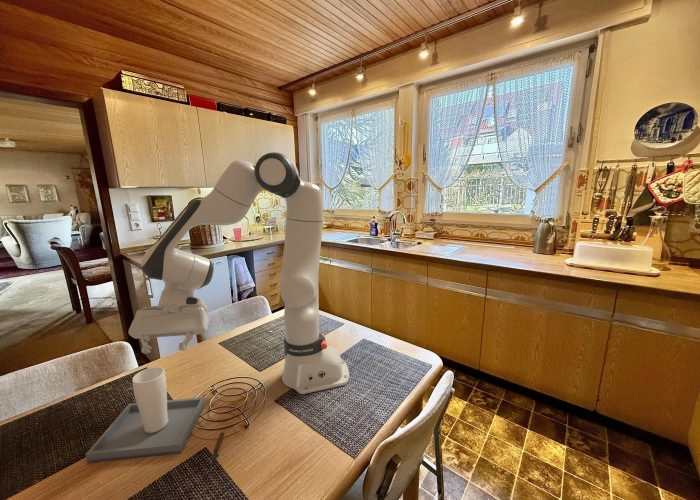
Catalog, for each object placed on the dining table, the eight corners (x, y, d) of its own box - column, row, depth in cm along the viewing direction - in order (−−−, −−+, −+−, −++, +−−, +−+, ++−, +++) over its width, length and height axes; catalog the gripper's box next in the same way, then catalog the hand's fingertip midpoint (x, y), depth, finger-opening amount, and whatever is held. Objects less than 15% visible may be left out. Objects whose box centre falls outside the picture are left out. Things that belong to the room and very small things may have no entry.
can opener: (220, 435, 73) (220, 431, 73) (229, 435, 73) (229, 431, 73) (203, 469, 64) (202, 465, 64) (213, 469, 64) (213, 465, 64)
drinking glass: (155, 439, 70) (147, 385, 67) (133, 434, 72) (124, 381, 69) (177, 418, 77) (171, 368, 74) (157, 414, 78) (149, 364, 75)
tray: (205, 404, 83) (204, 397, 82) (181, 453, 67) (179, 444, 67) (130, 411, 80) (129, 403, 80) (87, 463, 65) (85, 454, 64)
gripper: (132, 302, 83) (116, 351, 75) (207, 298, 86) (198, 345, 78) (143, 311, 88) (129, 357, 81) (213, 307, 91) (205, 351, 83)
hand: (163, 351), depth 79 cm, fingers open, 8 cm apart
